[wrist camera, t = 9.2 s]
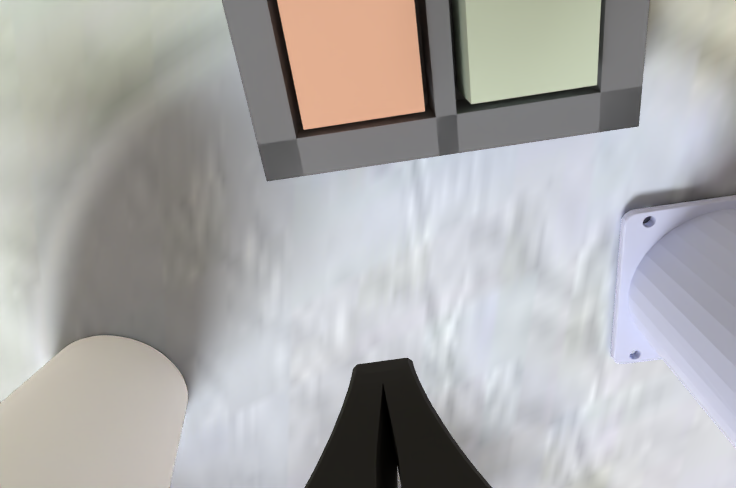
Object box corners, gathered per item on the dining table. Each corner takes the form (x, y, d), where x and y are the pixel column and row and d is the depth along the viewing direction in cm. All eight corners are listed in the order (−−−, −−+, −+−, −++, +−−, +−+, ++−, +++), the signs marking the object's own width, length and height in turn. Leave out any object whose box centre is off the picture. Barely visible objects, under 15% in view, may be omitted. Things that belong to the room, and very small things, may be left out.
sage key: (571, -53, 17) (604, -60, 15) (568, 73, 19) (596, 85, 16) (449, -33, 17) (463, -36, 15) (457, 90, 19) (471, 104, 17)
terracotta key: (404, -25, 17) (411, -27, 15) (417, 96, 19) (425, 111, 17) (286, -6, 17) (276, -5, 15) (310, 113, 19) (303, 129, 17)
